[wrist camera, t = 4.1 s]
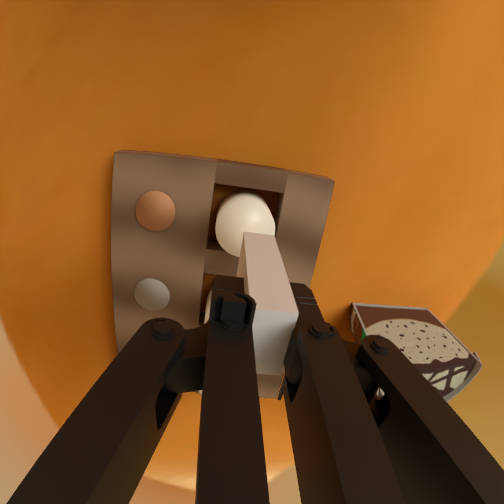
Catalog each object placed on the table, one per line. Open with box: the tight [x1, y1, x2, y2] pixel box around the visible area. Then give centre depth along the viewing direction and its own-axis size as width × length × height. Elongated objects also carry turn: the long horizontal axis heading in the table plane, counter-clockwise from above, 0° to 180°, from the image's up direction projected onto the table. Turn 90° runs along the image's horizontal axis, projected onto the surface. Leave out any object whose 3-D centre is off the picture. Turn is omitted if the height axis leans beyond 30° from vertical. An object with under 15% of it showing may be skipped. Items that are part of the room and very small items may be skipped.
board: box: [111, 150, 335, 398], centre depth 26 cm, size 22×16×2 cm
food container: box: [349, 303, 483, 402], centre depth 26 cm, size 12×6×10 cm, turn 81°
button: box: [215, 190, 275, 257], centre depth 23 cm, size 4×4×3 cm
